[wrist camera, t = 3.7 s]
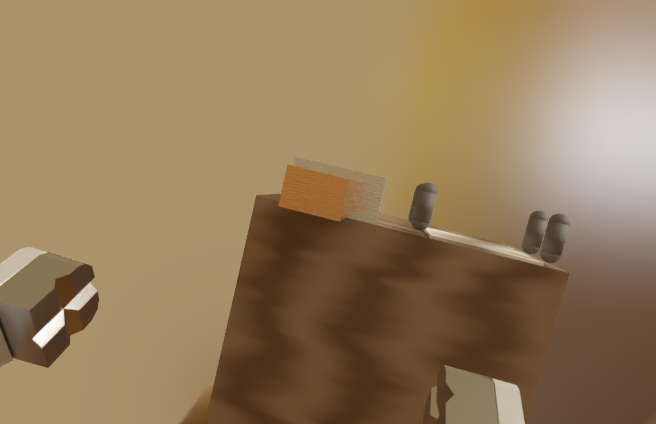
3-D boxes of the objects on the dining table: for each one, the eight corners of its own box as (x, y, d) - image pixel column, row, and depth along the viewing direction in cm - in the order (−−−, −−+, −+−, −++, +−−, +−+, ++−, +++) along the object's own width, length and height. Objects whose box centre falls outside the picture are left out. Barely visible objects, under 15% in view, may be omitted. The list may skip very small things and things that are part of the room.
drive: (378, 217, 35) (387, 180, 35) (369, 238, 21) (384, 174, 20) (305, 199, 36) (314, 163, 36) (246, 206, 21) (260, 144, 21)
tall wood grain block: (437, 505, 43) (518, 208, 41) (459, 656, 29) (584, 218, 27) (241, 442, 45) (307, 159, 43) (175, 553, 32) (267, 144, 29)
